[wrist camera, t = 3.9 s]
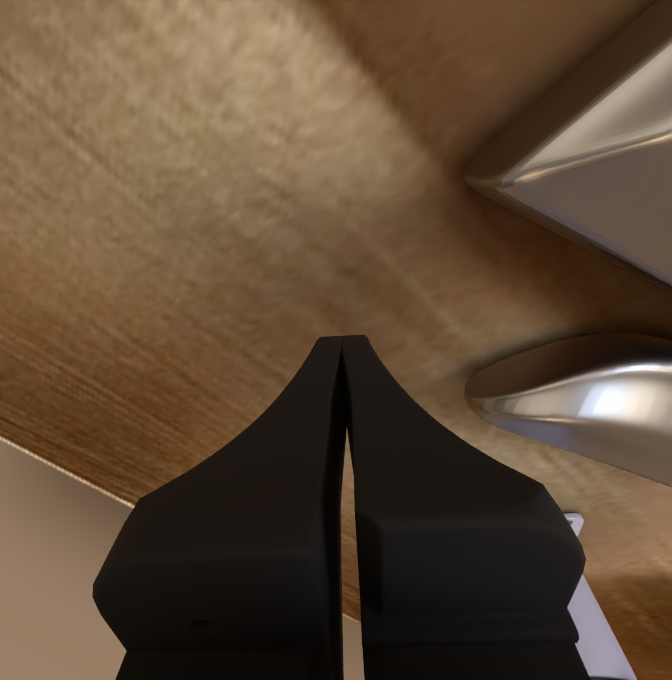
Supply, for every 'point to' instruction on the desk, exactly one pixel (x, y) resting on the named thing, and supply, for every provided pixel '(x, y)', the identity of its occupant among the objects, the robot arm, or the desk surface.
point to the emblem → (593, 249)
